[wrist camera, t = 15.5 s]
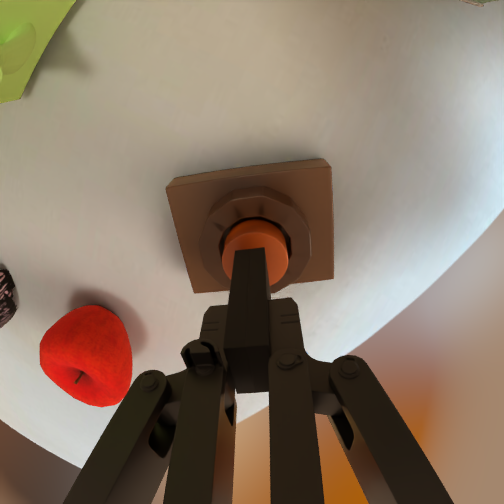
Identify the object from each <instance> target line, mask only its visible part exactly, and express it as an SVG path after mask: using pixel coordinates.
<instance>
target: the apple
mask: <svg viewBox="0 0 504 504" xmlns="http://www.w3.org/2000/svg"><path fill="white" fill-rule="evenodd" d="M40 365H41V367H42V369H43V371H44V373H45V374H46V375H47V376H48V377H49V378H50V379H51V380H52V381H53V382H54V383H55V384H57V385H58V386H59V387H60V388H62V389H63V390H64V391H65V392H67V393H68V394H69V395H71V396H72V397H73V398H75V399H77V400H79V401H82V402H84V403H86V404H88V405H92V406H98V407H106V406H112V405H115V404H117V403H119V402H120V401H121V400H122V399H123V398H124V397H125V395H126V394H127V392H128V390H129V388H130V383H131V378H132V352H131V346H130V342H129V338H128V334H127V332H126V329H125V327H124V325H123V323H122V322H121V320H120V319H119V317H117V316H116V315H114V314H113V313H112V312H110V311H109V310H107V309H105V308H103V307H101V306H98V305H86V306H83V307H80V308H77V309H74V310H72V311H71V312H69V313H67V314H66V315H65V316H63V317H62V318H61V319H59V320H58V321H57V322H56V323H55V324H54V325H53V326H52V327H51V328H50V329H48V330H47V331H46V333H45V334H44V336H43V338H42V340H41V342H40Z"/></svg>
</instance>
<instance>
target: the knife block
mask: <svg viewBox="0 0 504 504" xmlns="http://www.w3.org/2000/svg"><path fill="white" fill-rule="evenodd" d="M461 1H464V2H467V3H470V4H473V5H475V6H478V7H483V6H484V5H483V3H486V2H491V1H497V0H461Z"/></svg>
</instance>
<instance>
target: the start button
mask: <svg viewBox="0 0 504 504" xmlns="http://www.w3.org/2000/svg"><path fill="white" fill-rule="evenodd" d="M261 247H265V254H266V261H267V269H268V276H269V284H270V286H271V285H273V284H275V283H276V282H278V281H279V280H280V279H281V278H282V277H283V275H284V274H285V272H286V270H287V267H288V253H287V247H286V241H285V238H284V236H283V234H282V232H281V231H280V230H279V229H278V228H277V227H276V226H275V225H273V224H272V223H269V222H267V221H264V220H257V219H253V220H247V221H244V222H241V223H239V224H237V225H236V226H235V227H233V228H232V229H231V231H230V232H229V233H228V235H227V237H226V240H225V245H224V250H223V255H222V265H223V269H224V271H225V273H226V274H227V276H228V277H229V278H230V279H231V277H232V269H233V261H234V253H235V250H244V249H253V248H261Z"/></svg>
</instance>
